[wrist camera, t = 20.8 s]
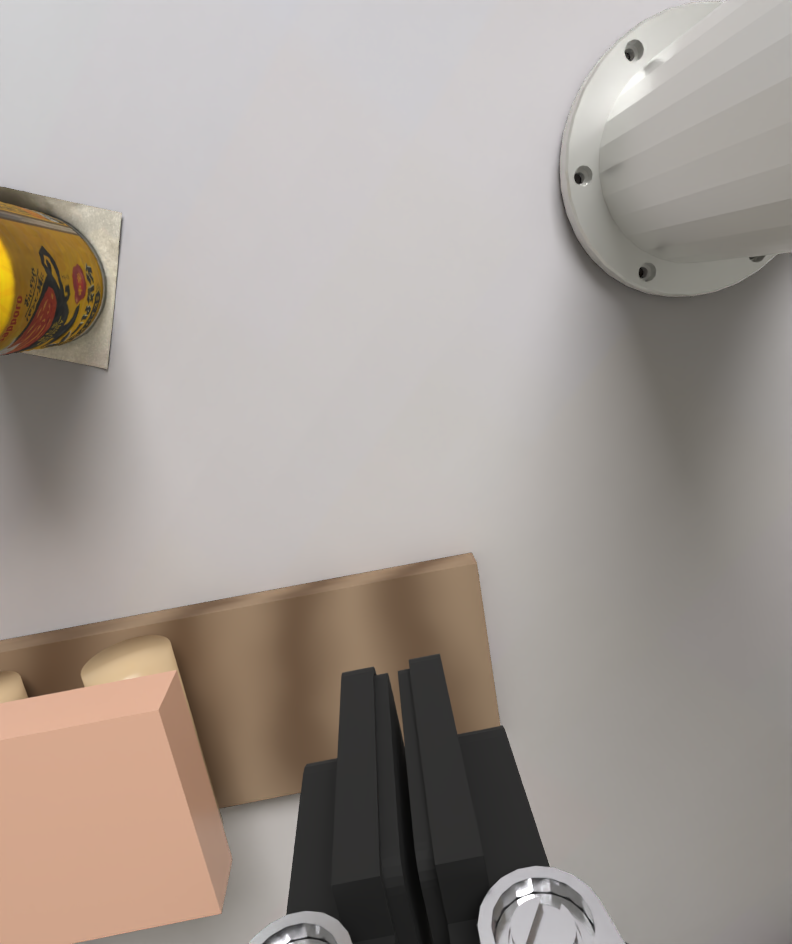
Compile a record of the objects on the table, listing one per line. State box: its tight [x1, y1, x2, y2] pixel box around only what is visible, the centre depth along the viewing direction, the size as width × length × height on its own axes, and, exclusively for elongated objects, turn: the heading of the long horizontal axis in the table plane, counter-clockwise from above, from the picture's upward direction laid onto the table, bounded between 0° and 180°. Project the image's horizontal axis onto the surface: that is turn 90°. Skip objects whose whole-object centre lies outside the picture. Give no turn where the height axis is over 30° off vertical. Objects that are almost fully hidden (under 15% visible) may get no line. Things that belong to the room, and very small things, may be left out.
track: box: [0, 553, 500, 809], centre depth 33 cm, size 33×12×8 cm, turn 100°
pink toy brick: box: [0, 635, 232, 944], centre depth 31 cm, size 16×11×7 cm
